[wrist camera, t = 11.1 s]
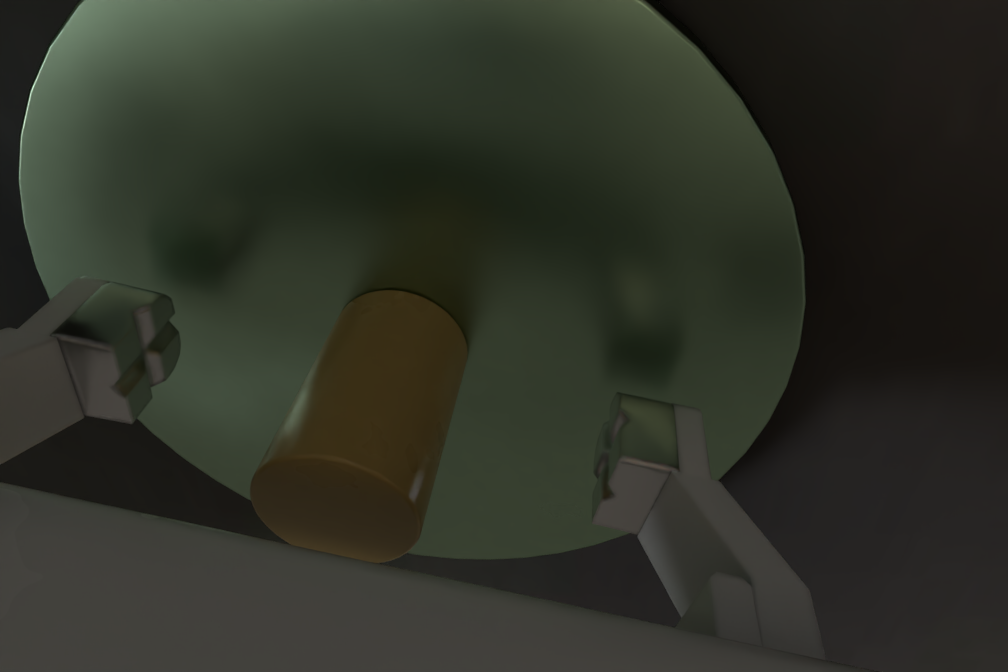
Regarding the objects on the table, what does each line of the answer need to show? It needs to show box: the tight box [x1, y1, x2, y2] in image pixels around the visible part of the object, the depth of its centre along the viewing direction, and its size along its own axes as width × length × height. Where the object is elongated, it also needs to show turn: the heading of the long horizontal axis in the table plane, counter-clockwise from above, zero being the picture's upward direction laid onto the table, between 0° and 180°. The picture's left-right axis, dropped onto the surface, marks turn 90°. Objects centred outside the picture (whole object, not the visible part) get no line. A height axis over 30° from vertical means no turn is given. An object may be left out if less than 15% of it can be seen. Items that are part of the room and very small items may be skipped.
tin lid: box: [18, 0, 806, 563], centre depth 12 cm, size 15×15×5 cm
